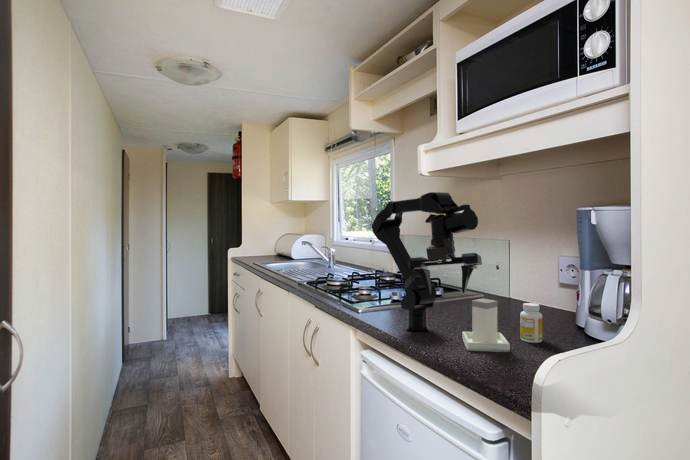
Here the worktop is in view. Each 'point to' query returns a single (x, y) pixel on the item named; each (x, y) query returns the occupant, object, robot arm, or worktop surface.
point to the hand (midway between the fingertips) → (446, 293)
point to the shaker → (484, 320)
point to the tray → (486, 344)
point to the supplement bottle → (531, 323)
